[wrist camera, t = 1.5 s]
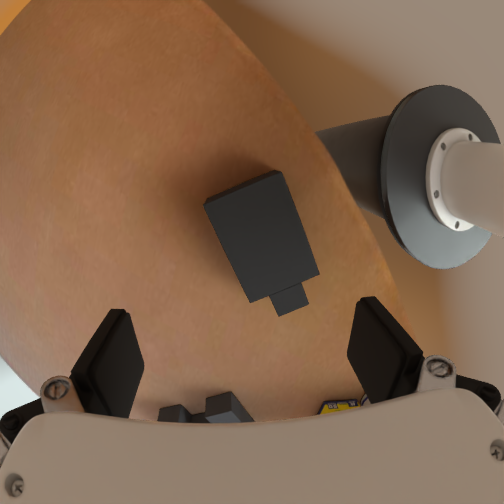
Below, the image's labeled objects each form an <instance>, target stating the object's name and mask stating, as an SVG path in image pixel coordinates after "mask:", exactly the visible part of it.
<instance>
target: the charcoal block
mask: <svg viewBox="0 0 504 504" xmlns="http://www.w3.org/2000/svg"><path fill="white" fill-rule="evenodd" d="M157 421H159V422H174V423H246V422H255V421H254V420H253V419H252V418H251V417H250V415H249V414H248V413H247V412H246V410H245V409H244V408H243V406H242V405H241V404H240V403H239V401H238V400H237V399H236V397H235V396H234V395H233V393H232V392H228V393H225V394H221V395H217V396H214V397H210V398H206V410H205V413H201V414H197V415H192V416H191V414H190V413H189V412H188V411H187V410H186V409H185V408H184V407H183V406H182V405H176V406H172V407H167V408H162V409H160V411H159V416H158V420H157Z"/></svg>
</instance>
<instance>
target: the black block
mask: <svg viewBox="0 0 504 504" xmlns="http://www.w3.org/2000/svg"><path fill="white" fill-rule="evenodd" d="M203 207H204V209H205V211H206V213H207V215H208V217H209V219H210V222H211V224H212V226H213V228H214V230H215V232H216V234H217V236H218V238H219V240H220V243H221V245H222V247H223V249H224V251H225V253H226V255H227V257H228V259H229V261H230V263H231V265H232V267H233V269H234V271H235V274H236V276H237V278H238V280H239V282H240V284H241V286H242V288H243V290H244V292H245V294H246V296H247V298H248V300H249V302H250V303H252V302H254V301H257V300H259V299H262V298H264V297H267V296H269V297H270V299H271V301H272V303H273V305H274V308H275V310H276V312H277V314H278V316H282V315H284V314H287V313H289V312H292V311H294V310H296V309H299V308H301V307H304V306H306V305H308V304H309V302H308V300H307V297H306V294H305V292H304V289H303V286H302V284H301V282H303V281H305V280H308V279H310V278H312V277H315V276H317V275H319V271H318V268H317V265H316V262H315V259H314V256H313V253H312V251H311V248H310V245H309V242H308V239H307V237H306V234H305V231H304V228H303V226H302V223H301V220H300V218H299V215H298V212H297V210H296V207H295V205H294V202H293V199H292V197H291V194H290V192H289V189H288V187H287V184H286V182H285V179H284V177H283V174H282V172H280V171H277V170H273V171H270V172H268V173H265V174H263V175H261V176H258V177H256V178H253V179H251V180H249V181H246V182H244V183H241V184H239V185H237V186H234V187H232V188H230V189H228V190H225V191H223V192H221V193H219V194H216V195H214V196H212V197H210V198H207V199H206V201H205V203H204V205H203Z"/></svg>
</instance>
